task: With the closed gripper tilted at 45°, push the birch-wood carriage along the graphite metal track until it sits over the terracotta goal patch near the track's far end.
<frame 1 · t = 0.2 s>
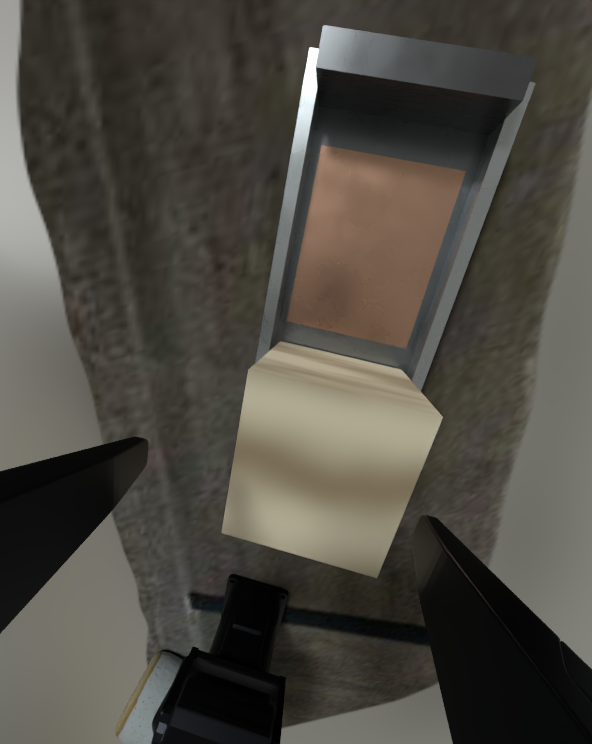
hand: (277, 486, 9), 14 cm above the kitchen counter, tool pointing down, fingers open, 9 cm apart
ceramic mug: (183, 668, 36), on the kitchen counter
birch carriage: (321, 442, 18), point 5 cm above the kitchen counter, slide at 0.0 cm
graphite track: (344, 332, 21), on the kitchen counter
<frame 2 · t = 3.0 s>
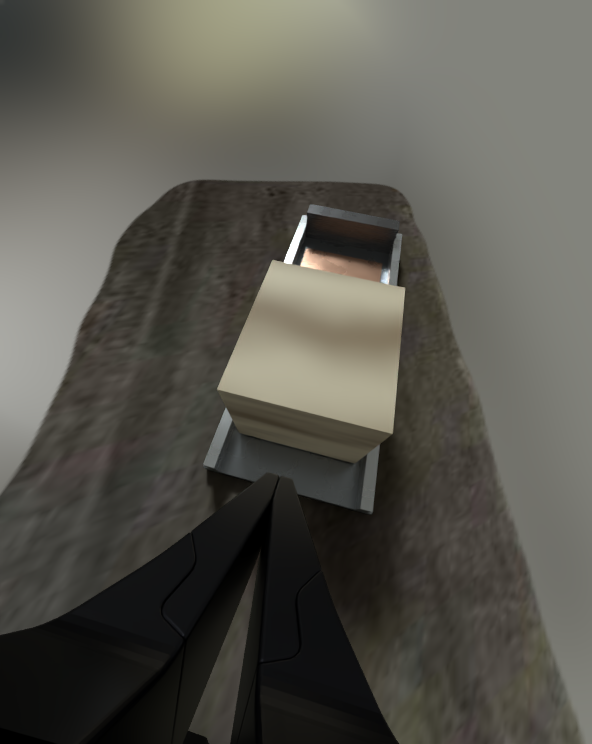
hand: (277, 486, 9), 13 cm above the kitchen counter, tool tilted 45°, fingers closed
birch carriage: (315, 366, 20), point 5 cm above the kitchen counter, slide at 0.0 cm
graphite track: (323, 337, 27), on the kitchen counter
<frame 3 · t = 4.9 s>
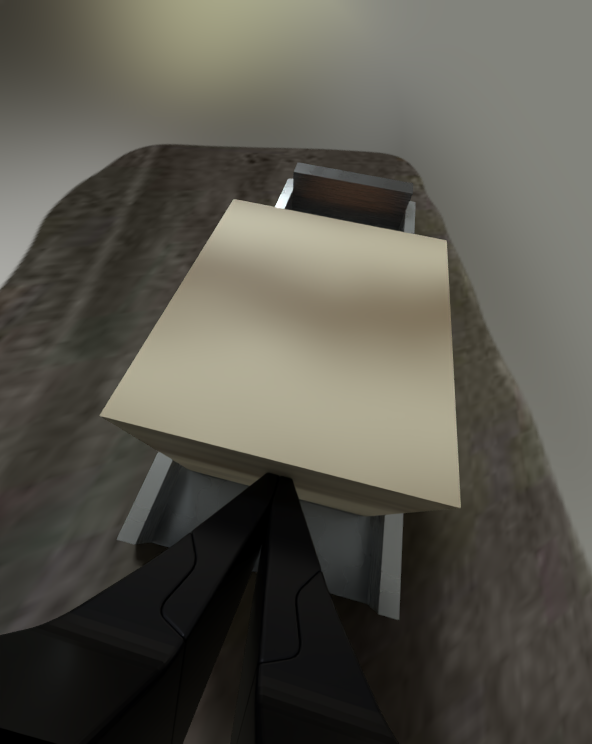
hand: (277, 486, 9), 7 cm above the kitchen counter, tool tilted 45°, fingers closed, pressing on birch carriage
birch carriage: (303, 367, 13), point 5 cm above the kitchen counter, slide at 0.3 cm, touching gripper
graphite track: (316, 332, 20), on the kitchen counter
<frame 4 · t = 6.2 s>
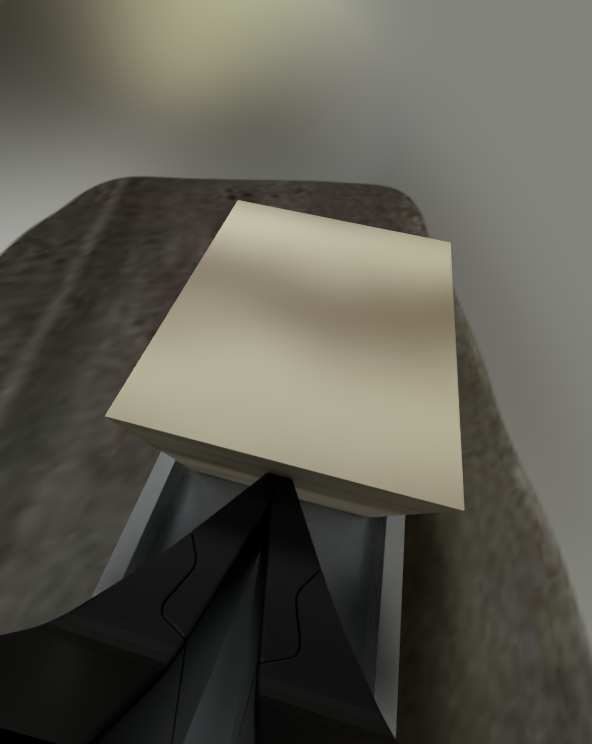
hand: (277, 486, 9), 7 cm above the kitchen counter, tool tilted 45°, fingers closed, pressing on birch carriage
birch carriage: (306, 369, 13), point 5 cm above the kitchen counter, slide at 7.8 cm, touching gripper
graphite track: (294, 430, 17), on the kitchen counter
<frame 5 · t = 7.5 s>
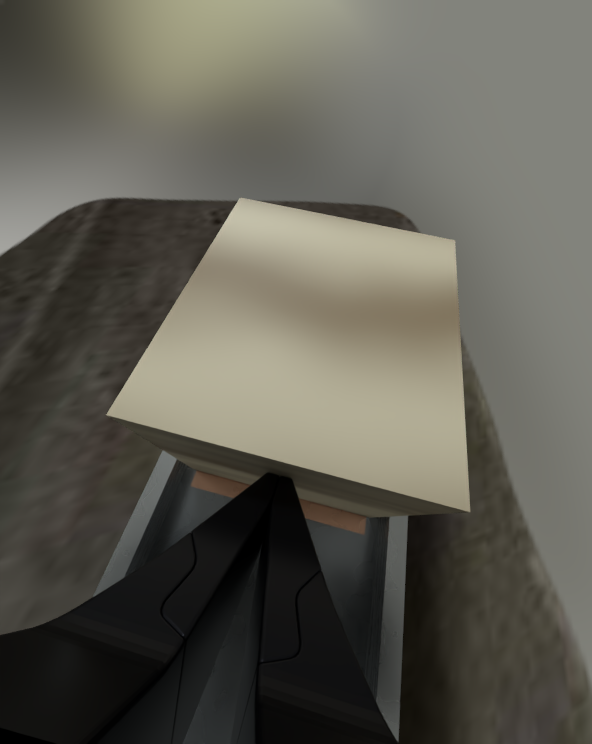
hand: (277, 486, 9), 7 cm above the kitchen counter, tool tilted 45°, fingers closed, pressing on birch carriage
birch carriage: (309, 368, 12), point 5 cm above the kitchen counter, slide at 12.3 cm, touching gripper
graphite track: (275, 510, 14), on the kitchen counter
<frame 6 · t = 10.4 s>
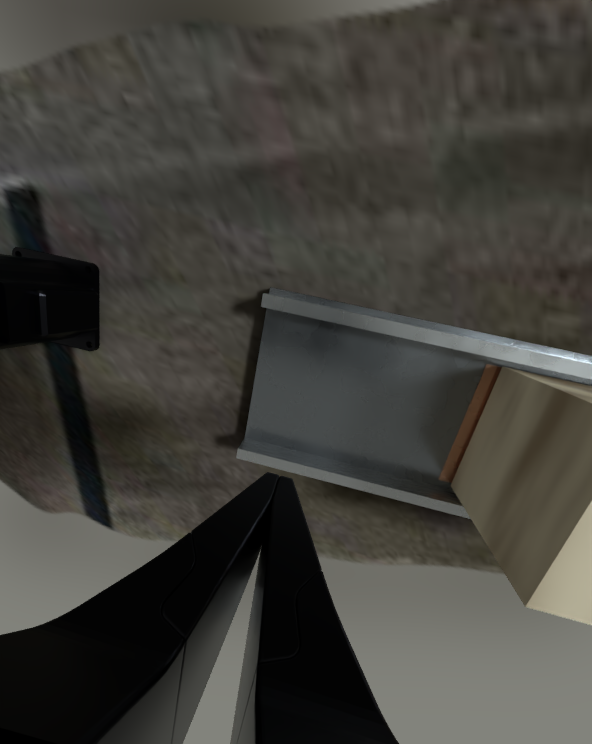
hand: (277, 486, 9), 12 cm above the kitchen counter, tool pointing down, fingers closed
graphite track: (454, 419, 20), on the kitchen counter
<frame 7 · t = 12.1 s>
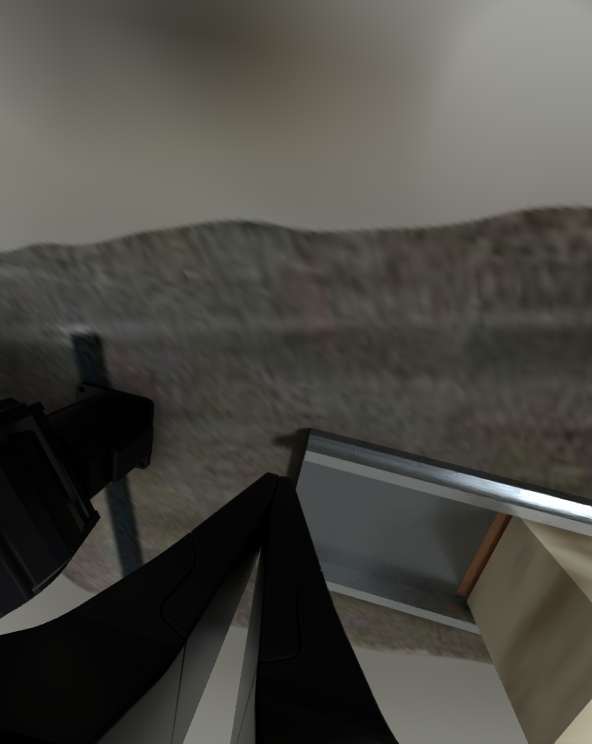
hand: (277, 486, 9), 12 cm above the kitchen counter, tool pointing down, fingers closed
graphite track: (470, 541, 22), on the kitchen counter
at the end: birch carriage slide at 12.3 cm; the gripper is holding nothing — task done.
